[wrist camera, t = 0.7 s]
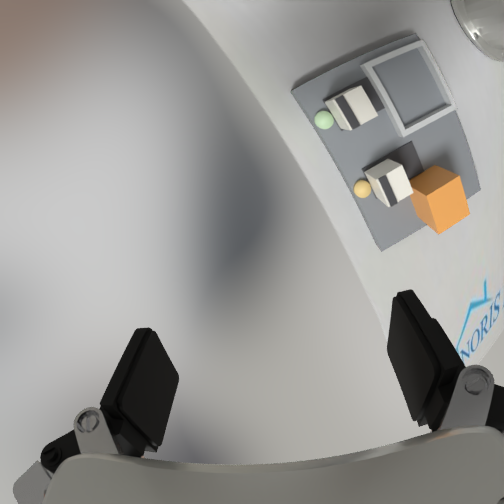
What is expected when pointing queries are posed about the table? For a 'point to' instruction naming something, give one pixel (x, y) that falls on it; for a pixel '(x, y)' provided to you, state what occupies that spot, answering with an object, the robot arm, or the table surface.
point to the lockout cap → (439, 198)
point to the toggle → (351, 108)
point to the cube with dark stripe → (389, 182)
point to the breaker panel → (391, 129)
